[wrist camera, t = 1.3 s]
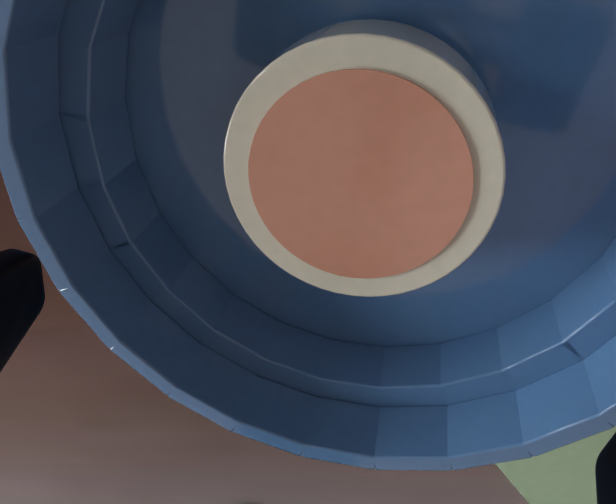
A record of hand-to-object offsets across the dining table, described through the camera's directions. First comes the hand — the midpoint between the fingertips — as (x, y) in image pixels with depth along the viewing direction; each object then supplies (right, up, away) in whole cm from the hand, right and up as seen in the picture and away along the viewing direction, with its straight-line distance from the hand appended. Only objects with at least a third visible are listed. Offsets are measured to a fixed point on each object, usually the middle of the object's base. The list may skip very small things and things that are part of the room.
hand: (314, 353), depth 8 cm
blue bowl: (+2, +5, +7) cm, 9 cm away
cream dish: (+2, +4, +7) cm, 8 cm away
